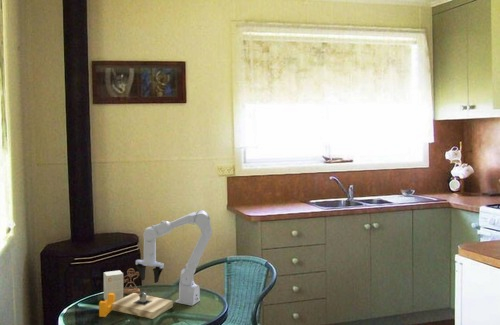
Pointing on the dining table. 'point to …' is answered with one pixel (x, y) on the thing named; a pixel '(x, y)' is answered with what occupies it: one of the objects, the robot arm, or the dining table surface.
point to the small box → (113, 284)
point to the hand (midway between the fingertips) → (149, 281)
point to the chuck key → (143, 297)
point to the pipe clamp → (106, 305)
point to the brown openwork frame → (127, 290)
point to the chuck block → (142, 306)
